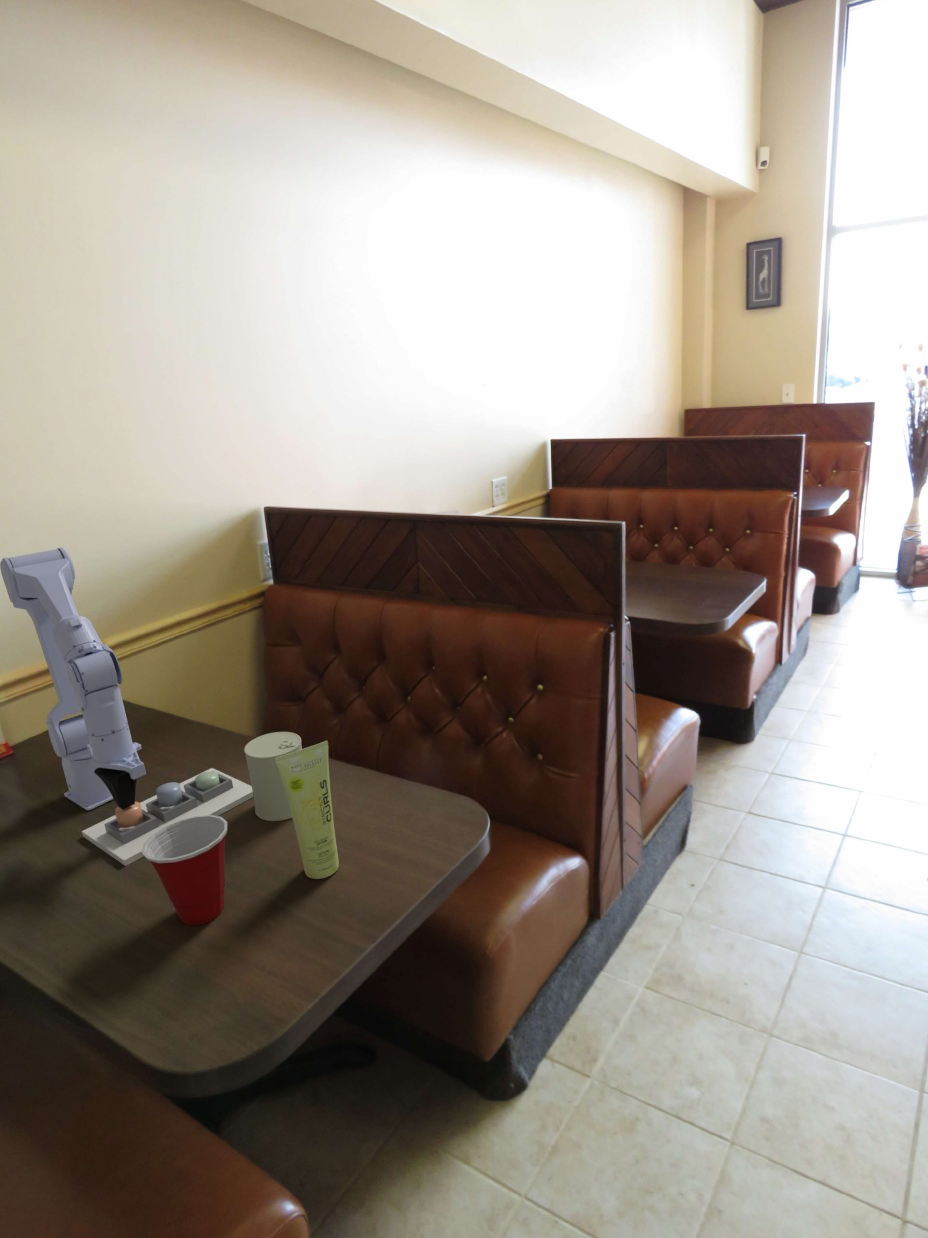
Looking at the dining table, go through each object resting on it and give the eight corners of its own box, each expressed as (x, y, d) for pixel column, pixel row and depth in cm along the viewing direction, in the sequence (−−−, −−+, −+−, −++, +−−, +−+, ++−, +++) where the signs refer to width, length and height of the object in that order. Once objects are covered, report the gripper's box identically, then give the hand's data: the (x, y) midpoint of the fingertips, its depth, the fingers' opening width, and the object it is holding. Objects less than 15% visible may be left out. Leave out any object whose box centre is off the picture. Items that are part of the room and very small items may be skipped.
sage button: (193, 791, 129) (190, 778, 129) (212, 781, 132) (210, 769, 131) (205, 797, 127) (203, 784, 126) (224, 787, 130) (222, 775, 129)
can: (297, 822, 120) (286, 755, 116) (245, 820, 122) (232, 754, 118) (319, 792, 128) (309, 729, 125) (270, 790, 130) (259, 728, 127)
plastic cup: (214, 875, 108) (198, 802, 105) (258, 903, 101) (244, 826, 98) (143, 918, 100) (124, 841, 97) (187, 951, 94) (168, 869, 90)
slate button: (154, 803, 124) (151, 790, 123) (175, 792, 127) (172, 780, 126) (166, 809, 122) (163, 796, 121) (187, 799, 124) (184, 786, 124)
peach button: (113, 823, 119) (110, 810, 118) (136, 812, 122) (132, 799, 121) (125, 830, 117) (121, 817, 116) (147, 819, 119) (144, 805, 119)
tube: (327, 885, 104) (307, 760, 98) (295, 880, 105) (274, 757, 100) (345, 860, 109) (327, 740, 103) (314, 856, 111) (295, 737, 105)
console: (83, 836, 121) (79, 822, 120) (212, 772, 138) (210, 760, 137) (125, 866, 112) (121, 851, 111) (258, 794, 129) (255, 780, 129)
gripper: (156, 728, 113) (174, 807, 117) (110, 708, 122) (128, 782, 126) (111, 747, 107) (131, 829, 112) (66, 725, 116) (86, 801, 121)
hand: (126, 805), depth 118 cm, fingers closed
